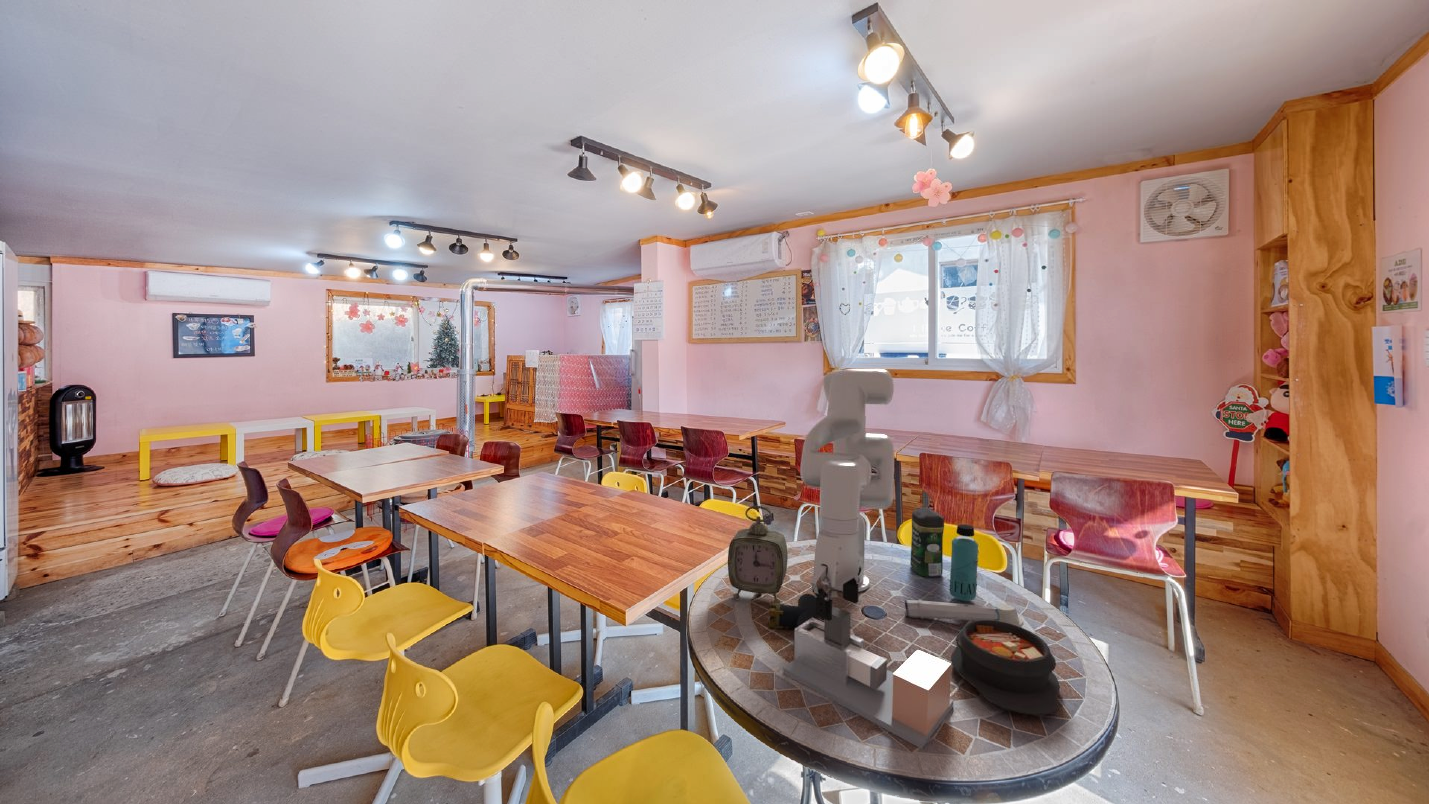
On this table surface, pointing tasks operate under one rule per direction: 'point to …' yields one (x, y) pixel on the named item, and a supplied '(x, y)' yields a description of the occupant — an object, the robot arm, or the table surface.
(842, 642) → the sliding latch bolt
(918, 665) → the socket block
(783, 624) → the pipe connector
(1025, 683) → the casserole
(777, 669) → the table surface
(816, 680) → the base board
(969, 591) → the beverage bottle
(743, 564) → the tabletop clock
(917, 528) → the coffee jar
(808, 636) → the outer sleeve
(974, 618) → the electric cleaning brush
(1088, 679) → the table surface
